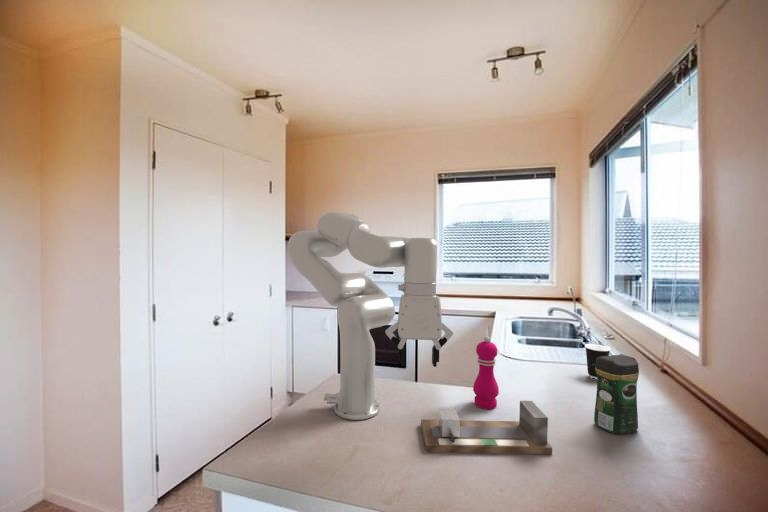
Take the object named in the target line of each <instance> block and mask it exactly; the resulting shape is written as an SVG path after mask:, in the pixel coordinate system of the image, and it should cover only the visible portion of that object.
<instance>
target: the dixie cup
mask: <svg viewBox="0 0 768 512" xmlns="http://www.w3.org/2000/svg"><path fill="white" fill-rule="evenodd" d="M584 347H585V355H586V364H587V365H586V366H587V374H588V377H589V376H590V377H592V378H596V379H597V373H596V370H595V367H596V358H598V357H600V356H610V351H611V347H609V346H607V345H606V346H605V345H601V344H597V343H596V344H595V343H594V344H593V343H590V344H588V343H587V344H585V345H584ZM590 377H589V378H590ZM592 378H591V379H592Z"/></svg>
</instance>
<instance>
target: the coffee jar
mask: <svg viewBox="0 0 768 512" xmlns="http://www.w3.org/2000/svg"><path fill="white" fill-rule="evenodd" d="M639 367H640V366H639V362H638V361H637V359H636V358H635V357H632V356H629V355H625V354H623V353H620V354H614V355H613V354H612V355H609V356H600V357H598V358H596V367H595V370H596V373H597V381H596V382H597V383H596V384H597V385H596V396H595V405H594V415H593V416H594V417H593V421H594V423H595V425H596V426H597V427H598V428H600V429H602V430H604V431H606V432H609V433H613V434H616V435H625V434H629V433H633V432H636V431H637V430H638V428H639V418H638V417H639V415H638V399H637V398H638V394H637V393H638V392H637V390H638V389H637V388H638V387H637V386H638V380H639V375H640V368H639Z"/></svg>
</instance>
